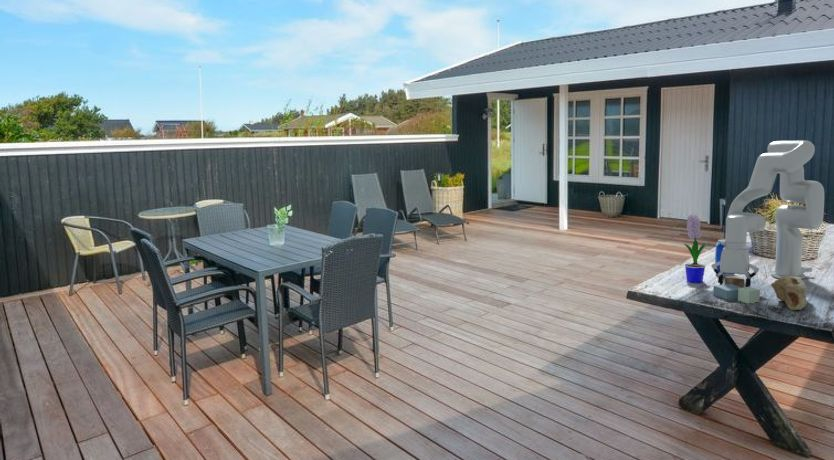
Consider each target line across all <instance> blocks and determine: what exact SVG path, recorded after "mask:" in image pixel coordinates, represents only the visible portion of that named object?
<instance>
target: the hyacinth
mask: <svg viewBox="0 0 834 460" xmlns="http://www.w3.org/2000/svg"><path fill="white" fill-rule="evenodd" d="M686 219H687V220H686V221H687V223H686V231H687V237H688V238H689V239H690V240H692V241H693V240H694V241H693V243H692V245H691V246H690V245H689V244H687V243H683V245H684V246H685V247H686V248H687V249H688V251H689V253H690V255H691V258H692V260H693V261H692V262H691V263H688V262H687V263H685V264H684V268H685V277H686V282H687V283H692V284H701V283H703V280H704V276H705V269H706V265H705V264H703V263H698V260H699V256H700V254H701V252H702V251H703V250H704V249H705V248H706V247H708V246H709V244H710V243H711V241H708V242H707V243H703V244H701V246H700V247H699V242H698V240H697V239H700V238H702V236H703V232H701V222H702V220H701V219H700V217H699V215H697V214H694V213H692V214H691V215H689V216H687V217H686Z"/></svg>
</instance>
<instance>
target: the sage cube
mask: <svg viewBox="0 0 834 460" xmlns="http://www.w3.org/2000/svg"><path fill="white" fill-rule="evenodd" d="M760 291H761V289H758V288H755V287H751V286H749V287H746V286H745V287H744V288H738V299H737V301H738V302H740V301H741V303H744V302H745V303H744V304H747V303H748V304H747V305H750V304H749V303H752V304H756V303H755V302H759V303H760V297H761V296H760V295H761V294H760Z"/></svg>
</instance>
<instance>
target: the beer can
mask: <svg viewBox="0 0 834 460" xmlns="http://www.w3.org/2000/svg"><path fill="white" fill-rule="evenodd" d="M724 241H725V238H720V239H717V242H716V244H715V252H714V253H715V256H714V263H717V262H720V261H721V254H722V250H723V248H725V246H724V245H721V242H724ZM716 267H717V269H718V270H719V271H720V265H718V266H716ZM722 275H723V278H725V277H728V276H735V274H733V273H723V274H722Z"/></svg>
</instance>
